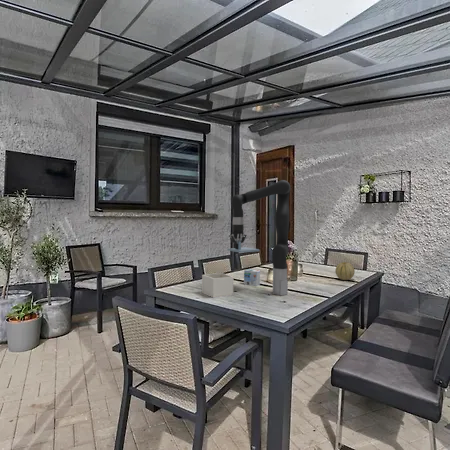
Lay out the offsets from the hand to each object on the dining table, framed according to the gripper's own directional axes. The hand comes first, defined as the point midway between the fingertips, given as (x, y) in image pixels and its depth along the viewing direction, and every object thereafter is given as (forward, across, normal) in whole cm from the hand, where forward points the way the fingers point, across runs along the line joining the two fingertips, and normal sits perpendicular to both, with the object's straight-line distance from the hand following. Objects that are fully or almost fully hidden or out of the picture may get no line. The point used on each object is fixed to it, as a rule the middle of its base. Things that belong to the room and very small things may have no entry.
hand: (238, 249), depth 231 cm
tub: (+28, -18, -2) cm, 34 cm away
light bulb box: (+29, +20, +10) cm, 36 cm away
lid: (+2, +4, 0) cm, 5 cm away
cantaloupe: (+30, +96, -14) cm, 102 cm away
